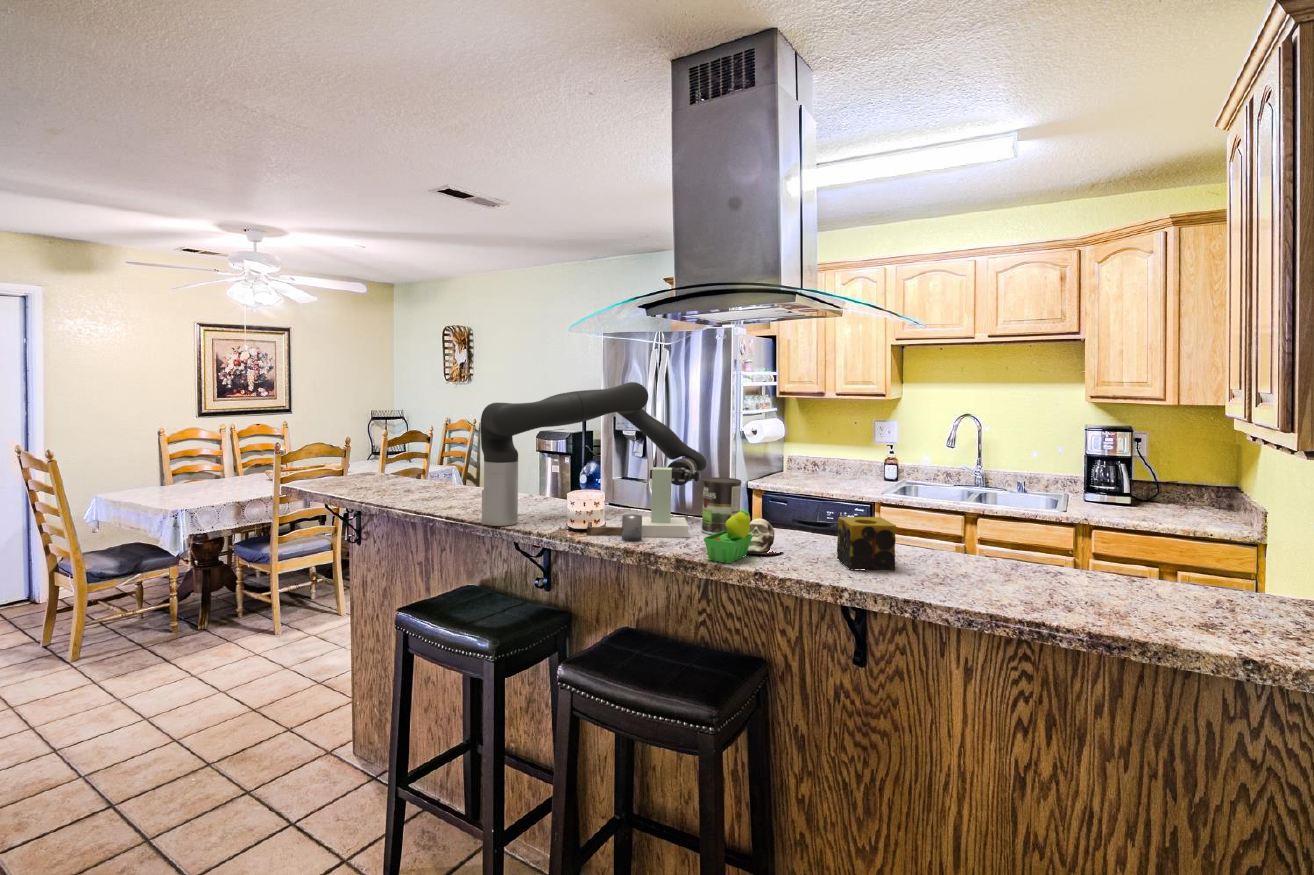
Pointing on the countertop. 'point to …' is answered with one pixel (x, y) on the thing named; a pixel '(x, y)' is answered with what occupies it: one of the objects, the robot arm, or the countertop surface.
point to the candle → (866, 543)
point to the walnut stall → (603, 530)
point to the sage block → (661, 495)
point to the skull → (761, 537)
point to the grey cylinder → (631, 527)
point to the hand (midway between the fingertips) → (670, 477)
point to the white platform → (665, 528)
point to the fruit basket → (730, 539)
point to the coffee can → (719, 503)
